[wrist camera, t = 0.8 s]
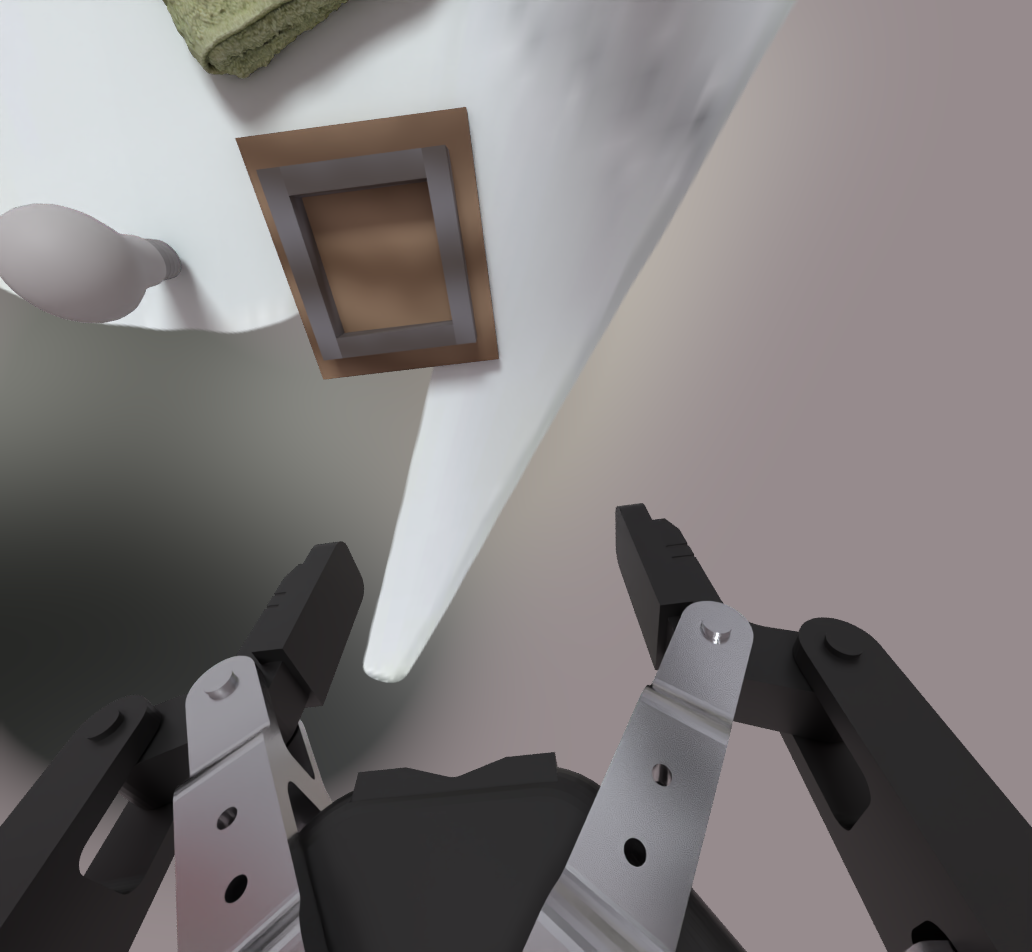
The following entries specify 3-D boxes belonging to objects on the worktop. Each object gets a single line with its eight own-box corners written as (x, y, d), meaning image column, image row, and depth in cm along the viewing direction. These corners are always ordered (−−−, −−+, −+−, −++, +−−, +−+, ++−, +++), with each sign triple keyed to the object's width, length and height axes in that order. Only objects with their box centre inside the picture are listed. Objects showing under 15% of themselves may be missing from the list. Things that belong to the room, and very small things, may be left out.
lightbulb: (129, 286, 31) (-31, 311, 22) (117, 195, 28) (-75, 178, 19) (215, 313, 32) (99, 347, 23) (212, 228, 29) (77, 228, 20)
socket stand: (243, 141, 27) (216, 131, 24) (467, 111, 26) (463, 98, 24) (327, 375, 35) (314, 387, 33) (498, 355, 35) (498, 365, 32)
